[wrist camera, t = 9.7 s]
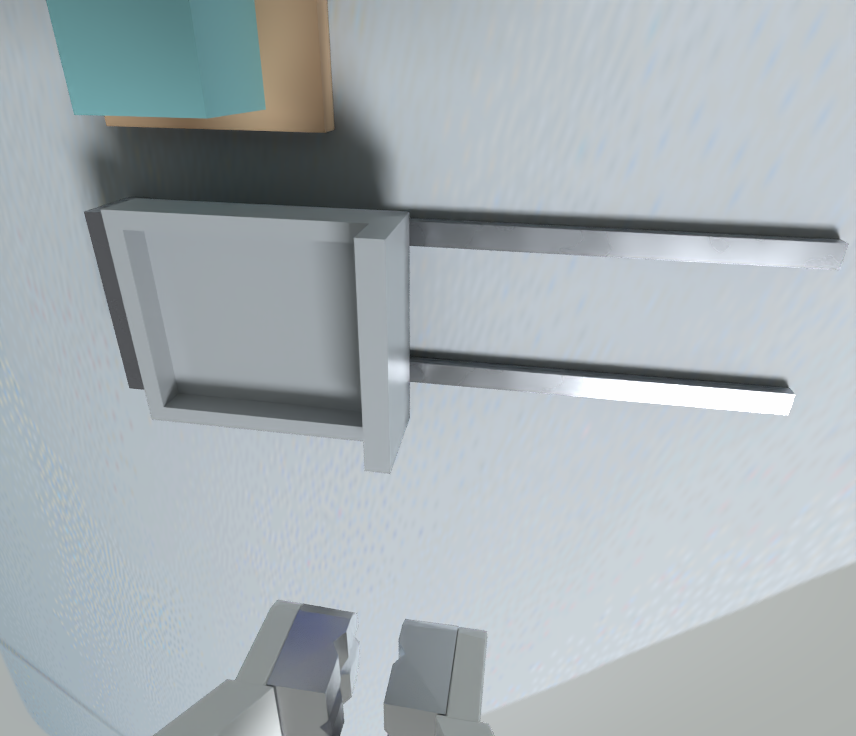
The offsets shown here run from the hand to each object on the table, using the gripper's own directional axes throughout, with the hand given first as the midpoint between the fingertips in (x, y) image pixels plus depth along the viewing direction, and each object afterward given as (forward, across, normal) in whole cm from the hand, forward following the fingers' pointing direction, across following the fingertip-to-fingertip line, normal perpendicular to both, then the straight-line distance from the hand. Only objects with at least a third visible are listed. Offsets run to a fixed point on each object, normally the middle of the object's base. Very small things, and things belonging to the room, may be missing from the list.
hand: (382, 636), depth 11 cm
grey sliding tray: (+17, +8, 0) cm, 18 cm away
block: (+15, +10, -10) cm, 21 cm away
